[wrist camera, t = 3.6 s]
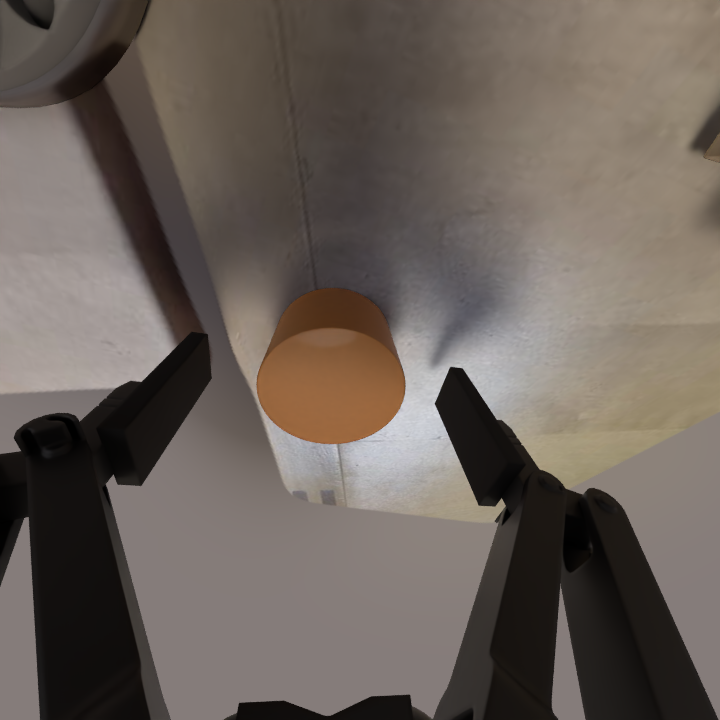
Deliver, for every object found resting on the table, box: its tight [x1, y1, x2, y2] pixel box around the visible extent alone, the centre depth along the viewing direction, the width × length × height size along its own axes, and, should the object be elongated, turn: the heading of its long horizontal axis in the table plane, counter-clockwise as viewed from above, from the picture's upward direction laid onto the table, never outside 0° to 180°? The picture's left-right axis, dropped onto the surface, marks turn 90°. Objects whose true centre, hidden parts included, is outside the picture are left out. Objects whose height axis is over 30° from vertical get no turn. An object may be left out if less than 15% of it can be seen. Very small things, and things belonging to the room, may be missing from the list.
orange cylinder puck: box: [257, 288, 405, 444], centre depth 16 cm, size 7×7×5 cm
